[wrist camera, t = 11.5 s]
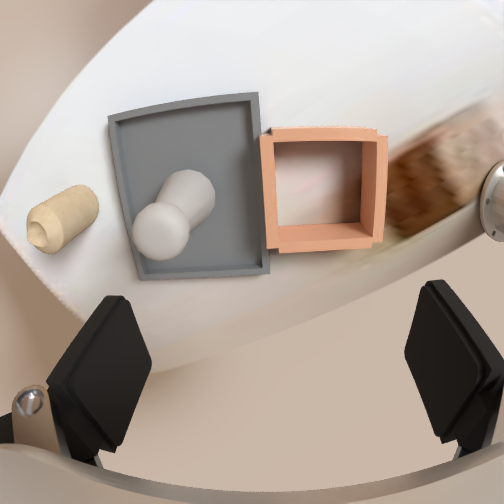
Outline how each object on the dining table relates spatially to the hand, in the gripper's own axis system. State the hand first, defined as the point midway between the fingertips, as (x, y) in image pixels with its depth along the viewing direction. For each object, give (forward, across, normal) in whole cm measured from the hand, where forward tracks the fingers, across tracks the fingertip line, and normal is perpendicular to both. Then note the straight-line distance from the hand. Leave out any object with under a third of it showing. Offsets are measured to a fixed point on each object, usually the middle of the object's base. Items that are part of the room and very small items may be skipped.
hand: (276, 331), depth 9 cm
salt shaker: (+24, +9, +1) cm, 26 cm away
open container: (+25, -5, +1) cm, 26 cm away
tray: (+25, +9, +1) cm, 26 cm away
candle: (+24, +24, +1) cm, 34 cm away
